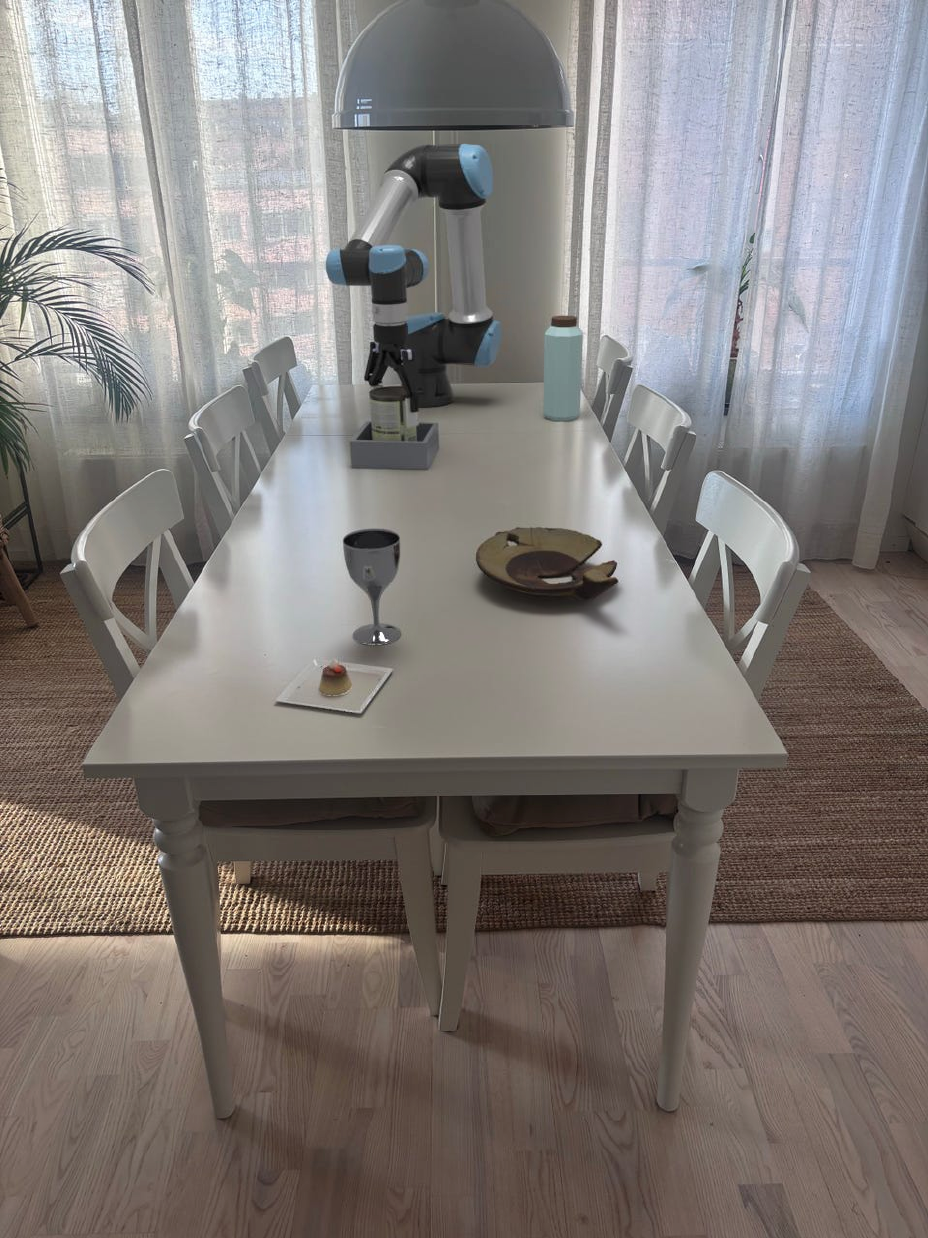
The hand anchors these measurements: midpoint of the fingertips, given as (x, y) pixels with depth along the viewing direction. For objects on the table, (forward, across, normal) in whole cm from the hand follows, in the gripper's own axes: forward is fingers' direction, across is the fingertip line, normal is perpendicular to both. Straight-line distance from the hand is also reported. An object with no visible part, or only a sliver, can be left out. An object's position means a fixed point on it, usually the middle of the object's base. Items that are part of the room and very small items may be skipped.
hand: (395, 420), depth 219 cm
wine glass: (+8, +72, -53) cm, 90 cm away
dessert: (+8, +82, -65) cm, 105 cm away
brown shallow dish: (+8, +76, -22) cm, 80 cm away
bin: (+9, 0, 0) cm, 9 cm away
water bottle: (+9, -2, +53) cm, 54 cm away
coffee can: (+8, 0, 0) cm, 8 cm away
